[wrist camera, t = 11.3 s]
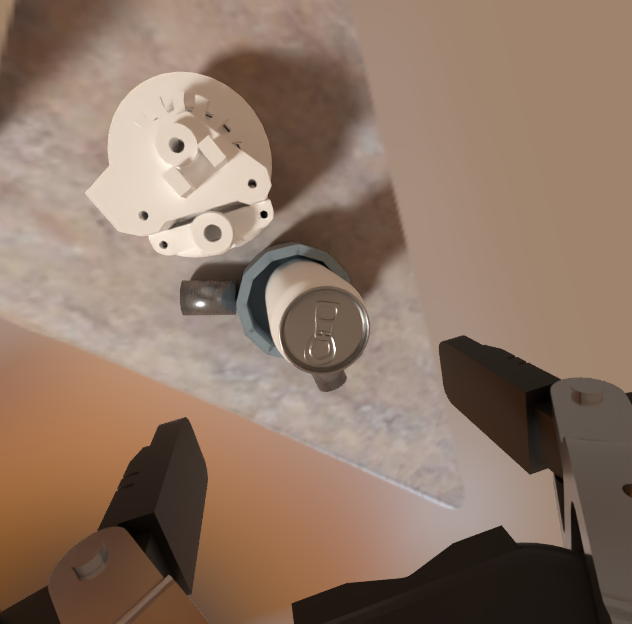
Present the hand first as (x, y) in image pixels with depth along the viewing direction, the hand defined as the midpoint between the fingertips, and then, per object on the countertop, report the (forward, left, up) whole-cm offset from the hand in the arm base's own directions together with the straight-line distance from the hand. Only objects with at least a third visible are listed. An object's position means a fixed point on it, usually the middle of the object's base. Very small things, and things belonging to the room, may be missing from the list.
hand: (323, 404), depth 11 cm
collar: (+1, -2, -23) cm, 23 cm away
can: (+2, -2, -23) cm, 23 cm away
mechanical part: (-4, +10, -24) cm, 26 cm away
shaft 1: (-6, 0, -23) cm, 24 cm away
